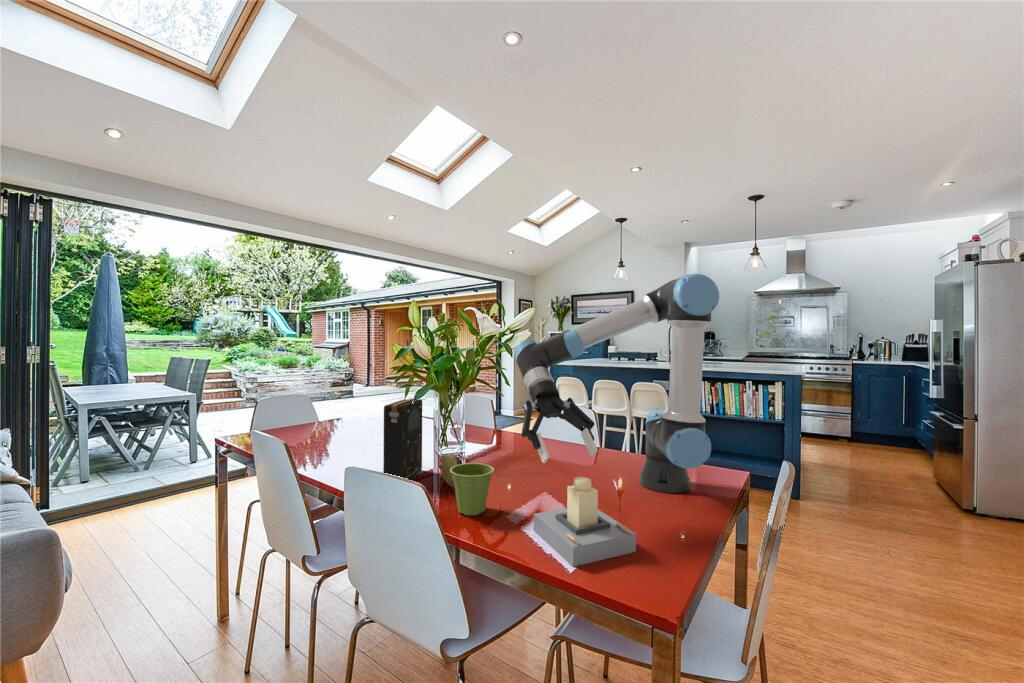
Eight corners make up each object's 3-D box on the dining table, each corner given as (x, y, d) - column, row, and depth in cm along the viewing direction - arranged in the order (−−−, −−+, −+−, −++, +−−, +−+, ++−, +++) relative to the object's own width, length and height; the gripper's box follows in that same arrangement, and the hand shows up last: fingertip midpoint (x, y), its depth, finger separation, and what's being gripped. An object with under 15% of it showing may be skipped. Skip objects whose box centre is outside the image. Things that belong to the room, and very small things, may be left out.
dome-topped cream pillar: (585, 517, 103) (585, 475, 103) (597, 525, 98) (597, 481, 98) (567, 520, 101) (567, 477, 101) (578, 529, 96) (579, 484, 96)
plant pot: (501, 514, 114) (502, 471, 114) (459, 523, 108) (460, 478, 108) (482, 499, 124) (482, 460, 124) (443, 507, 118) (443, 466, 118)
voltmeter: (405, 484, 136) (405, 405, 136) (380, 482, 138) (380, 404, 137) (425, 469, 151) (425, 398, 151) (402, 468, 153) (402, 397, 153)
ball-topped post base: (589, 519, 111) (589, 500, 111) (635, 551, 95) (636, 529, 95) (533, 530, 105) (533, 509, 105) (573, 566, 88) (573, 542, 88)
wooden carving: (477, 491, 131) (477, 458, 130) (464, 495, 127) (465, 461, 127) (445, 478, 143) (445, 448, 142) (433, 481, 139) (434, 450, 139)
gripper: (575, 393, 125) (606, 458, 112) (495, 398, 115) (519, 470, 102) (585, 376, 120) (619, 442, 107) (503, 380, 110) (529, 454, 97)
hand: (570, 456), depth 104 cm, fingers open, 13 cm apart
